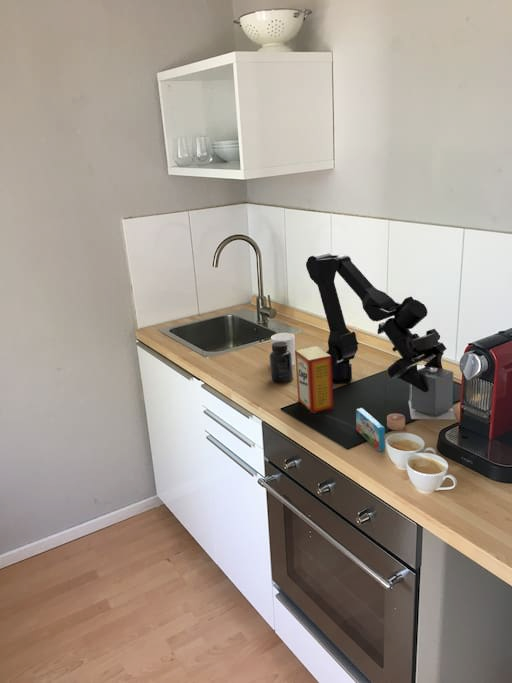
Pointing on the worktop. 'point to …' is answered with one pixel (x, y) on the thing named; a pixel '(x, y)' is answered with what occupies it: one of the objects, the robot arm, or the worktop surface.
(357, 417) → the light blue carton
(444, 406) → the charcoal cover canister
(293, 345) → the white cup
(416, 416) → the grey rubber mat
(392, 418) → the terracotta bowl
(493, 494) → the worktop surface
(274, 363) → the supplement bottle
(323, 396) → the baking soda box
